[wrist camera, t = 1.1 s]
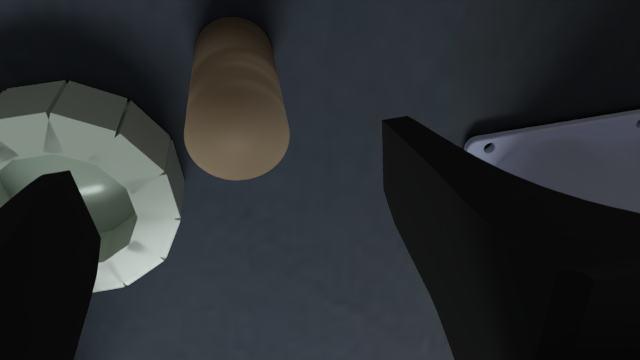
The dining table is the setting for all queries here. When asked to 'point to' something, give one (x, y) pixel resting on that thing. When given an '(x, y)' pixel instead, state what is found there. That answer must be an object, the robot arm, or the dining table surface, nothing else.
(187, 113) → the dowel
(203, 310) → the dining table surface
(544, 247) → the robot arm
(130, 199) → the sage green bowl
